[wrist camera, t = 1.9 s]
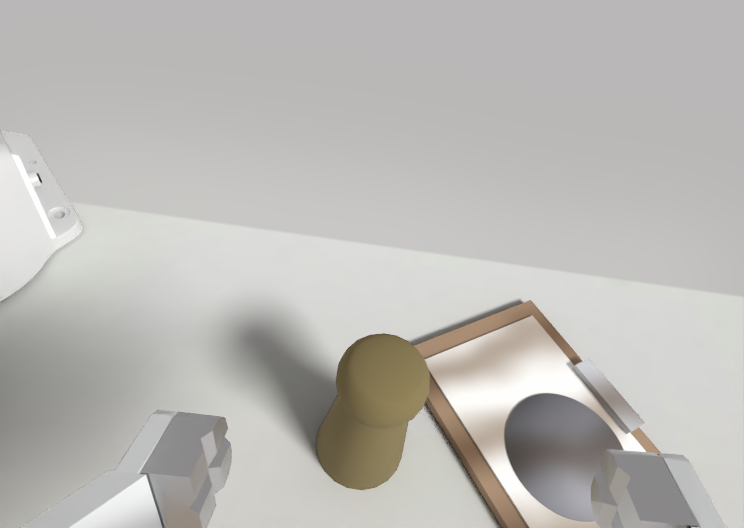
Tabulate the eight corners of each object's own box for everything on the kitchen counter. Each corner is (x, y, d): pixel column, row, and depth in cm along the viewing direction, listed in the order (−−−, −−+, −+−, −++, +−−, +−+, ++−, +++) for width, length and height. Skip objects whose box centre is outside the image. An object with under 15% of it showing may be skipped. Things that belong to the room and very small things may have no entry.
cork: (331, 392, 36) (350, 303, 28) (409, 417, 36) (451, 335, 28) (303, 473, 32) (315, 396, 24) (391, 502, 32) (434, 434, 24)
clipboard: (397, 356, 39) (401, 345, 38) (527, 305, 45) (534, 294, 44) (566, 635, 28) (579, 632, 27) (707, 520, 34) (723, 514, 33)
